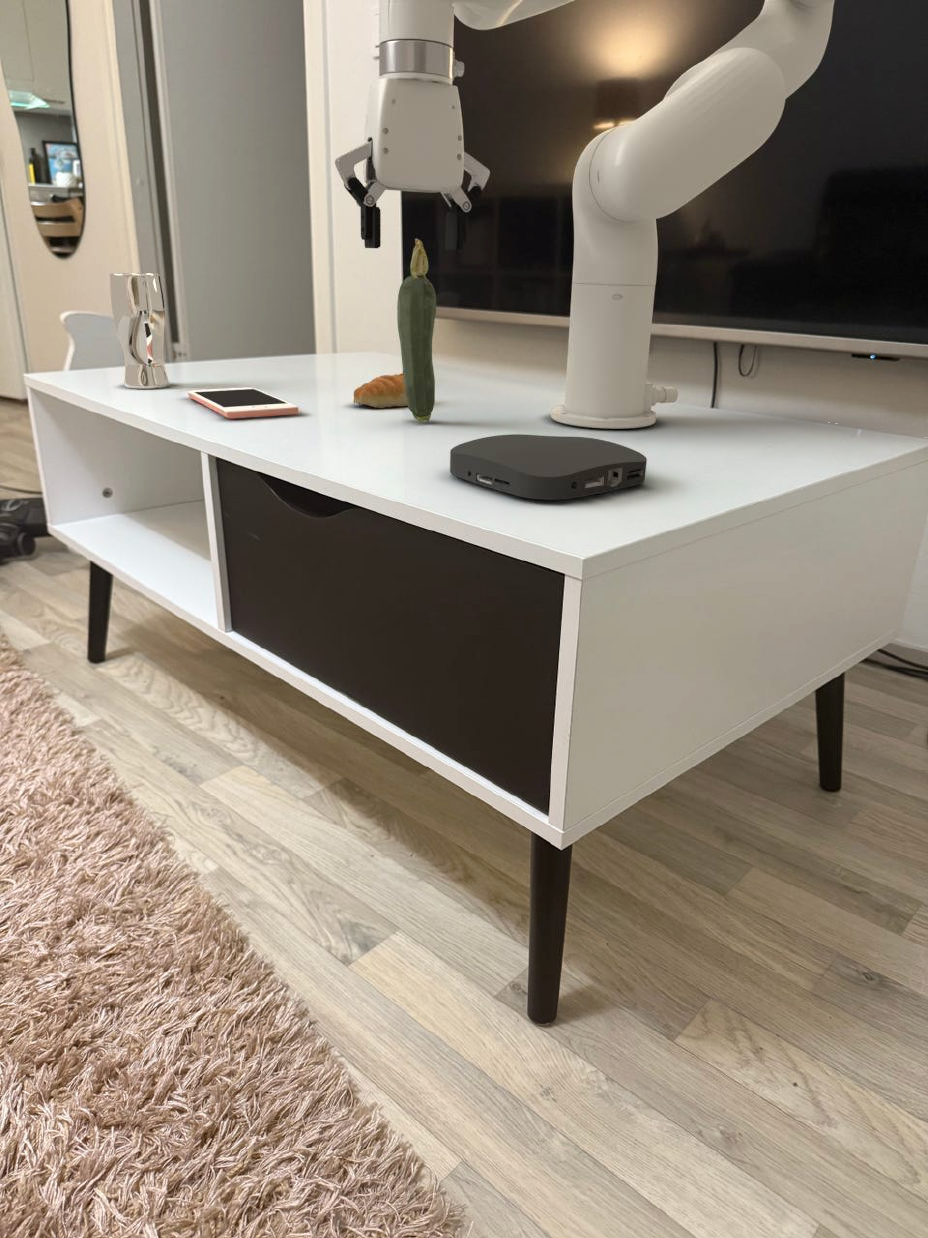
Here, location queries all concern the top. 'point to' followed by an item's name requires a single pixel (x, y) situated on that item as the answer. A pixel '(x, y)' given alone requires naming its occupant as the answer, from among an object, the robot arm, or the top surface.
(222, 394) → the cell phone
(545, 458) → the media streaming box
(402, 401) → the pastry
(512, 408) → the top surface
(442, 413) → the top surface
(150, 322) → the silver vase
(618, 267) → the robot arm
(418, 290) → the vegetable
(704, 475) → the top surface
